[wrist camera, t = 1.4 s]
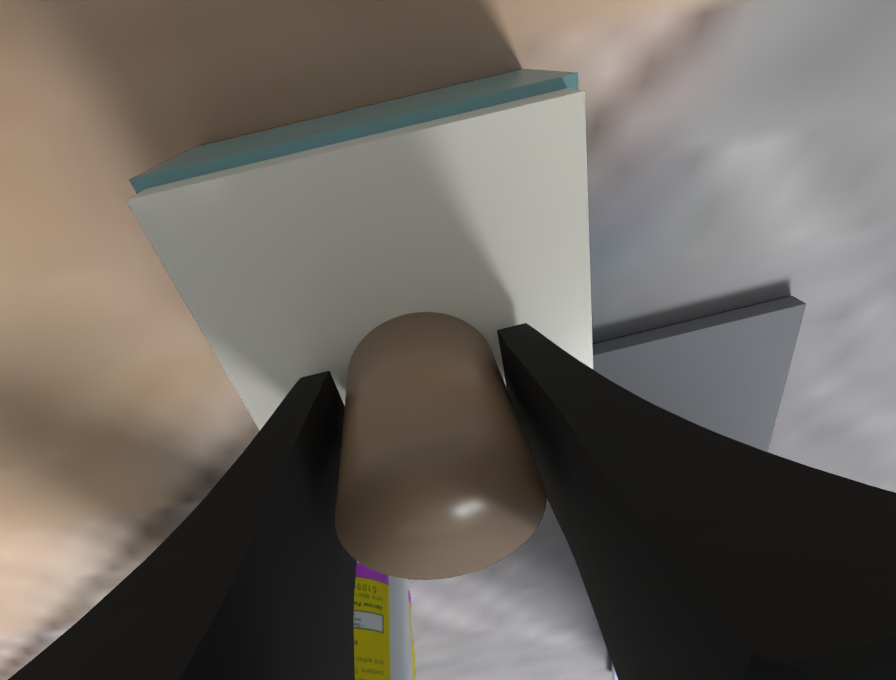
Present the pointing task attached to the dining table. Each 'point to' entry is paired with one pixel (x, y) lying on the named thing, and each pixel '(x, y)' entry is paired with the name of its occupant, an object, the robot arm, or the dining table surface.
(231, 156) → the box
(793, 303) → the pad
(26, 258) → the dining table surface
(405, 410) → the lid
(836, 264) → the dining table surface
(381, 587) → the supplement bottle
